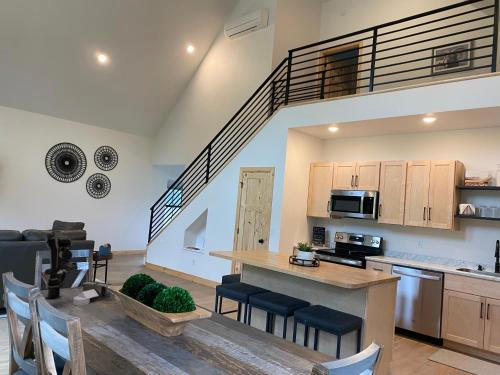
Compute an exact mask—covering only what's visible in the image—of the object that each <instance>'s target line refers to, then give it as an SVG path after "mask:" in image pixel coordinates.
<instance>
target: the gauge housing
mask: <svg viewBox="0 0 500 375" xmlns="http://www.w3.org/2000/svg"><path fill="white" fill-rule="evenodd" d="M82 284H83V285H82V292H84V291H86V285H87V284H95V283H93V282H89V281H86V282H83V283H82ZM96 285H101V286H102V299H101V300H103V301H104V300H105V301H109V302H110V301H114V300H115V298H116V294H115V295H114V294H112V293H111V292H110V291H108V286H113V285H112V284H111V285H106V284H96Z"/></svg>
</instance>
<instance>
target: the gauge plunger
mask: <svg viewBox="0 0 500 375" xmlns="http://www.w3.org/2000/svg"><path fill="white" fill-rule="evenodd" d="M88 282H92V283H95V284H87V285H86V291H88V290H92V289H94V290H95V291H96V293H97V294H98V295H99V296H95V297H92V298H93V299H97V300H98V299H99V300H103V299H102V286H101V285H96V284H105V285H112V283H106V282H101V281H95V280H88ZM92 298H91V299H92Z"/></svg>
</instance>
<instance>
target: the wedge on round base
mask: <svg viewBox="0 0 500 375" xmlns="http://www.w3.org/2000/svg"><path fill="white" fill-rule="evenodd" d="M95 296H99V295H98V294H97V293H96V291H95V290H94V289H92V290H88V291H84V292H83V291H82V292H80V293H79V294H78V295H77V296H74V297H73V302H72V304H73V305H74V306H84V305H89V304H90V302H91V299H92V297H95Z"/></svg>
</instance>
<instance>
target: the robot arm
mask: <svg viewBox="0 0 500 375" xmlns="http://www.w3.org/2000/svg"><path fill="white" fill-rule="evenodd" d="M63 234H64V233H62V232H61V230H52V231H51V232H50V233H49V234H47V235H46V237H45V240H44V242H45V245H46V248H47V249H48V250H49V266H50V268H45V270H44V275H48V277H47V279H46V282H45V289H47V296H45V299H49V300H55V299H59V298H62V295H61V294H60V293H61V290H60V289H61V288H63V284H64V281H65V279H66V277H67V275H68V274H69V273H71V272H74V271H78V262H76V261H74V262H73V261H72V262H70V260H72V258H73V251H71V250H70V249H73V243H72V240H71V237H70V236H67V235H63Z"/></svg>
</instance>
